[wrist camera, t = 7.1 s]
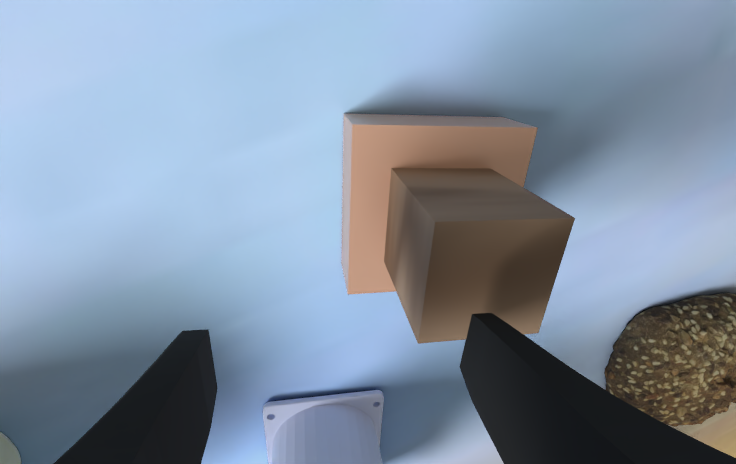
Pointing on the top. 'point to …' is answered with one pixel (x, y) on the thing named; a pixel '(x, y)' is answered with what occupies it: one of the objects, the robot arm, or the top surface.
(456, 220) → the walnut block
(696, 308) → the bread roll
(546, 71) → the top surface
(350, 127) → the terracotta tile
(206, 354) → the robot arm
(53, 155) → the top surface
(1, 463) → the reusable coffee cup
